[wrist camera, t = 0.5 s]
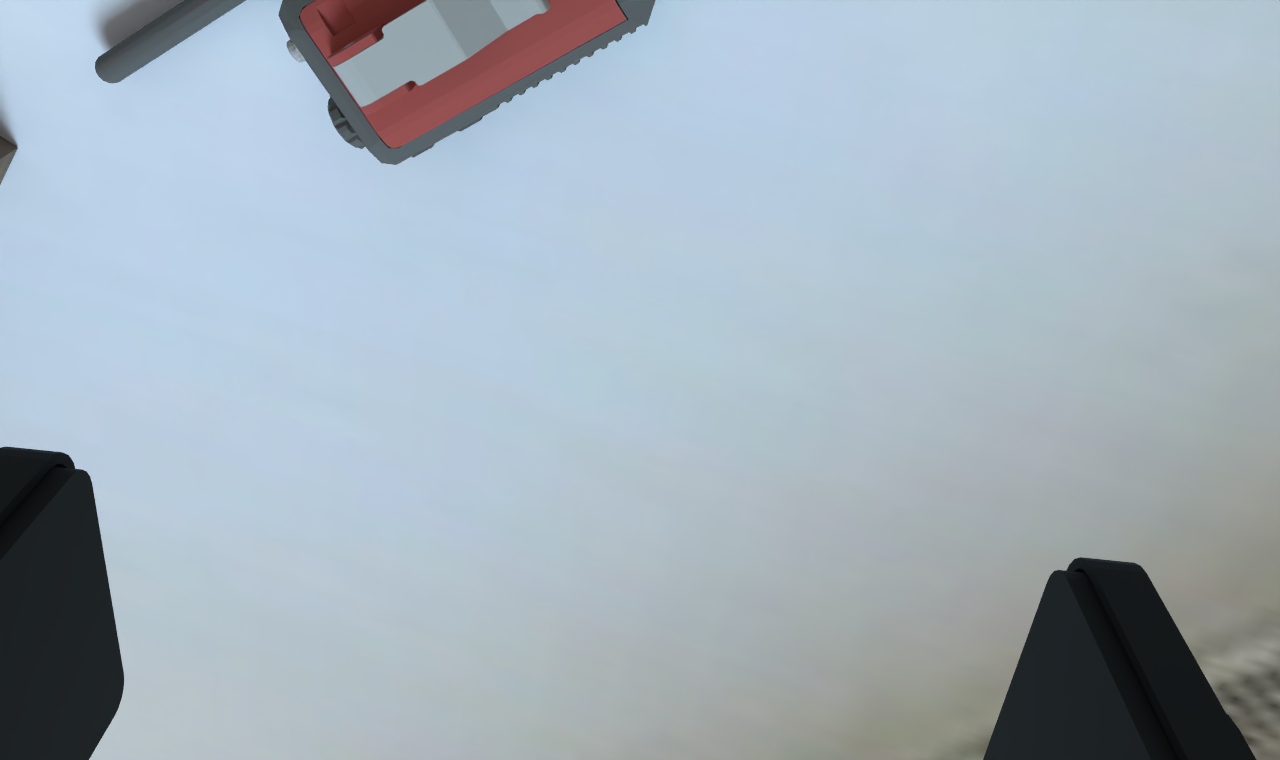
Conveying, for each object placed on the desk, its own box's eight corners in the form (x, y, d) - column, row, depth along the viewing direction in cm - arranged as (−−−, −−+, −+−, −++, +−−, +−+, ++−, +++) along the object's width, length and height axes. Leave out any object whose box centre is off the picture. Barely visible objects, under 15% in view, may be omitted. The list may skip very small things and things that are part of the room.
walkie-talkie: (568, -275, 35) (96, 37, 40) (551, -272, 31) (33, 72, 37) (700, -16, 38) (251, 236, 44) (699, 15, 35) (208, 286, 40)
